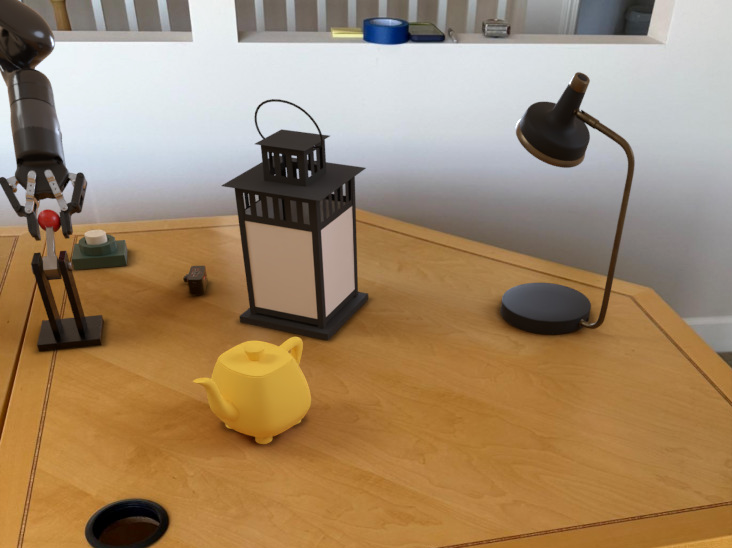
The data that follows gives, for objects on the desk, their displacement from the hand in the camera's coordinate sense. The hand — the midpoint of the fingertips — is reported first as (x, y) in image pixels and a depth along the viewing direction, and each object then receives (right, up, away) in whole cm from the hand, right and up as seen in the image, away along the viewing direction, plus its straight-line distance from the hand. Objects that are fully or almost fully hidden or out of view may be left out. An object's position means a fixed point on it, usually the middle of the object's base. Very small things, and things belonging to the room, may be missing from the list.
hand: (51, 237), depth 128 cm
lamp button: (-3, +9, +26) cm, 27 cm away
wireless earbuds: (+19, -2, +19) cm, 27 cm away
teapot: (+37, -33, -15) cm, 52 cm away
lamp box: (-3, +6, +28) cm, 29 cm away
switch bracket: (+1, -15, +4) cm, 16 cm away
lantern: (+41, -9, +13) cm, 43 cm away
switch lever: (0, -2, 0) cm, 2 cm away
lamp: (+85, -10, +12) cm, 87 cm away
